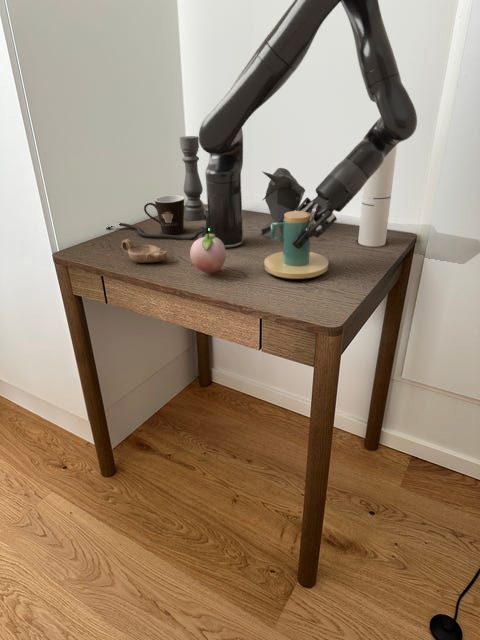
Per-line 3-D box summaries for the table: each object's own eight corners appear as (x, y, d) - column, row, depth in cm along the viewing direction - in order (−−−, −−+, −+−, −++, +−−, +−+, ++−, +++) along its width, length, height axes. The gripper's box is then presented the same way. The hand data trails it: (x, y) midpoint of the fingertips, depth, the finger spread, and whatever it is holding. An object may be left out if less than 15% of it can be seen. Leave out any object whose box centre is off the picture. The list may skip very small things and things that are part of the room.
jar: (325, 255, 114) (328, 205, 108) (331, 278, 101) (335, 223, 95) (264, 255, 115) (264, 206, 109) (263, 278, 102) (262, 224, 96)
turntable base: (260, 272, 108) (260, 268, 108) (289, 258, 116) (290, 254, 116) (302, 284, 101) (302, 280, 101) (331, 268, 109) (331, 264, 108)
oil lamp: (173, 259, 118) (171, 240, 115) (155, 269, 112) (153, 250, 110) (134, 252, 123) (131, 234, 121) (115, 261, 118) (112, 242, 115)
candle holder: (186, 215, 154) (179, 136, 142) (204, 214, 155) (199, 135, 143) (185, 221, 149) (178, 139, 137) (204, 219, 149) (199, 138, 137)
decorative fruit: (192, 267, 112) (188, 228, 107) (225, 265, 113) (223, 226, 108) (191, 283, 104) (187, 240, 99) (227, 280, 104) (225, 238, 100)
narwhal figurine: (316, 228, 137) (319, 165, 129) (283, 240, 128) (284, 174, 119) (279, 219, 146) (280, 161, 138) (246, 231, 137) (245, 168, 128)
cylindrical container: (386, 247, 121) (398, 146, 109) (358, 246, 122) (367, 146, 110) (384, 238, 127) (396, 142, 115) (358, 237, 128) (366, 143, 117)
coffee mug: (192, 229, 140) (190, 197, 135) (174, 237, 133) (171, 203, 129) (163, 225, 145) (160, 193, 141) (145, 232, 139) (140, 199, 134)
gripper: (318, 168, 106) (269, 223, 109) (345, 179, 94) (289, 241, 97) (337, 189, 110) (289, 242, 113) (366, 203, 97) (312, 262, 100)
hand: (290, 241), depth 105 cm, fingers closed on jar, 6 cm apart
